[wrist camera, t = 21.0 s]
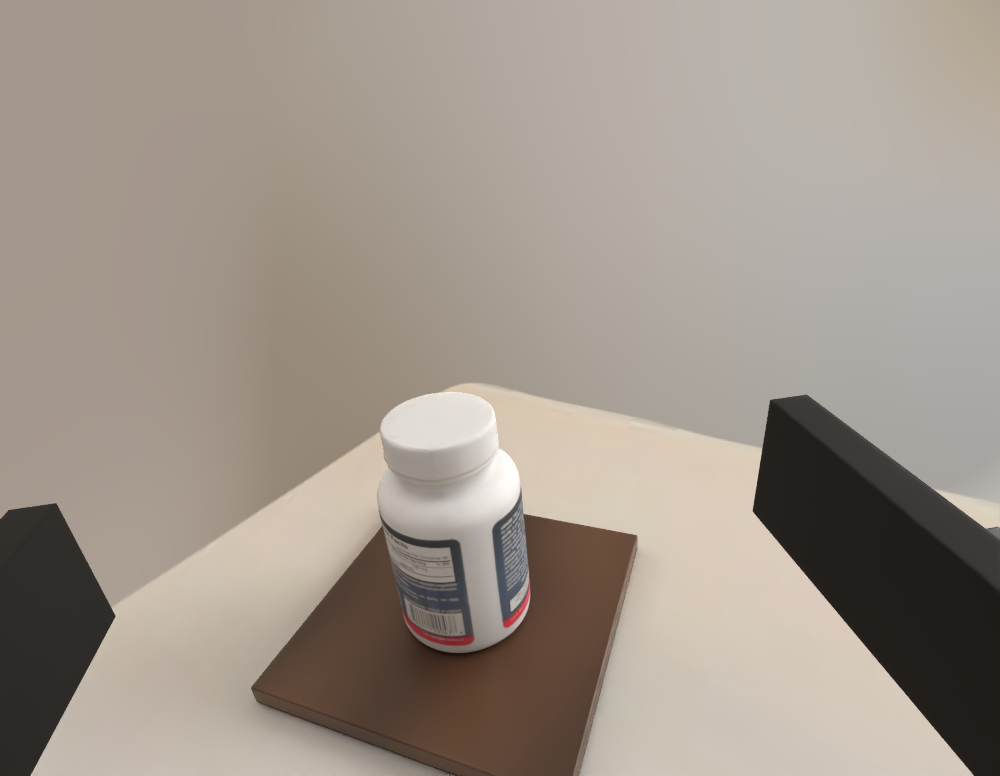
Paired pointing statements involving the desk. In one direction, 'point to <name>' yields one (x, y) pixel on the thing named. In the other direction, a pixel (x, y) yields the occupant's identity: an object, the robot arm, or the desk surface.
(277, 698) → the coaster
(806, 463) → the robot arm
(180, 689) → the desk surface
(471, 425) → the pill bottle
